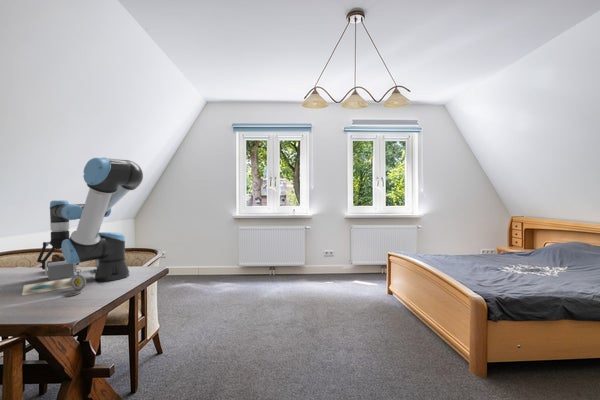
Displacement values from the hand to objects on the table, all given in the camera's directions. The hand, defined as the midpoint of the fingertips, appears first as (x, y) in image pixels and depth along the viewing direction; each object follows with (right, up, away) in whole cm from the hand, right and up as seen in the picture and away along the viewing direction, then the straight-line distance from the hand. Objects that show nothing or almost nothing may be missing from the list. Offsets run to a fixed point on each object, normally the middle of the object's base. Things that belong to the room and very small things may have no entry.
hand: (61, 273), depth 155 cm
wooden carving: (-13, -3, +14) cm, 20 cm away
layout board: (+9, -3, -15) cm, 18 cm away
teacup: (+12, -2, +17) cm, 21 cm away
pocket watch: (+25, -3, -25) cm, 35 cm away
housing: (0, -3, 0) cm, 3 cm away
